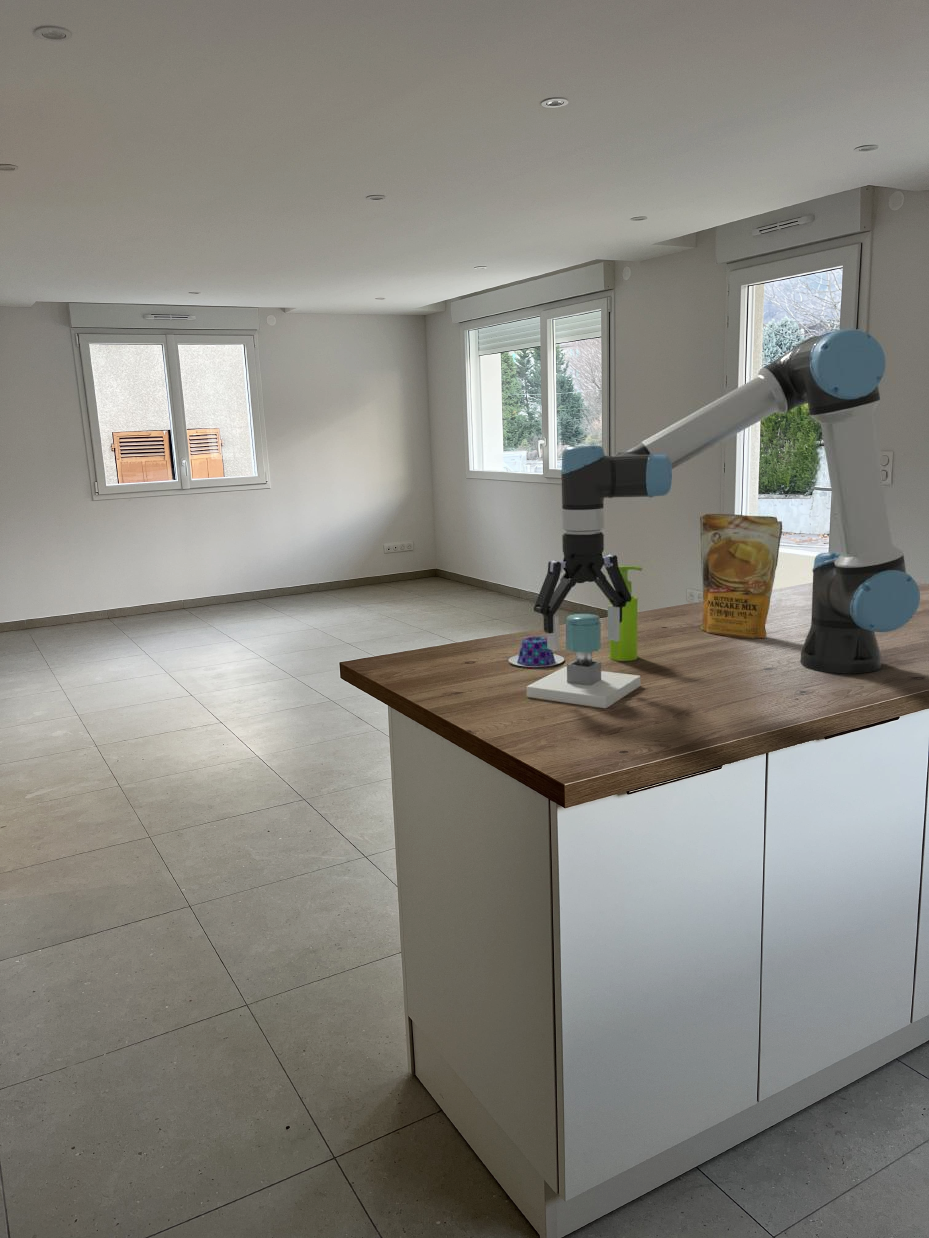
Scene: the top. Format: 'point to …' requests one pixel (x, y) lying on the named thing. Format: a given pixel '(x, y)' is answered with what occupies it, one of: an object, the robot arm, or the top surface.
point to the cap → (583, 633)
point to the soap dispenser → (626, 624)
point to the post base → (584, 685)
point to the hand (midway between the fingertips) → (583, 645)
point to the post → (584, 659)
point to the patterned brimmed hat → (535, 654)
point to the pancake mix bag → (738, 572)
